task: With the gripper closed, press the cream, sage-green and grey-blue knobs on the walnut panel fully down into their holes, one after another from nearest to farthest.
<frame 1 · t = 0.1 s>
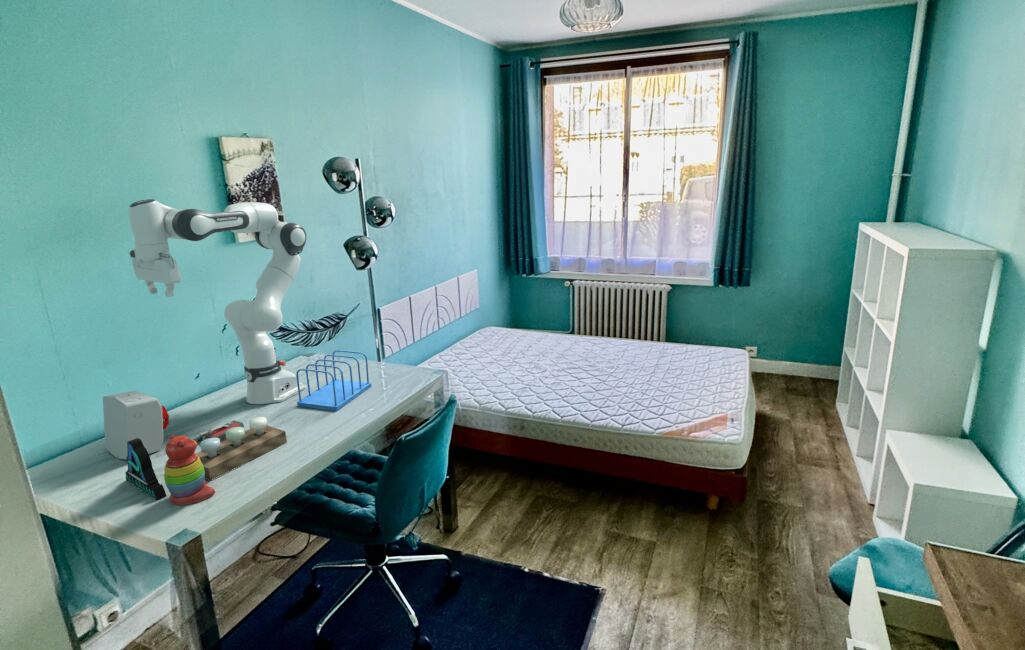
hand: (161, 294, 174), 48 cm above the table, tool pointing down, fingers open, 8 cm apart
file sorter: (336, 397, 213), on the table
stacking bear: (190, 496, 148), on the table
knob panel: (239, 455, 168), on the table
decorative sign: (146, 489, 152), on the table
electrical switch box: (145, 447, 175), on the table
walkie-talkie: (214, 440, 179), on the table
grey knob: (211, 449, 160), point 6 cm above the table, slide at 0.0 cm
cream knob: (259, 427, 173), point 6 cm above the table, slide at 0.0 cm
sage knob: (236, 438, 167), point 6 cm above the table, slide at 0.0 cm
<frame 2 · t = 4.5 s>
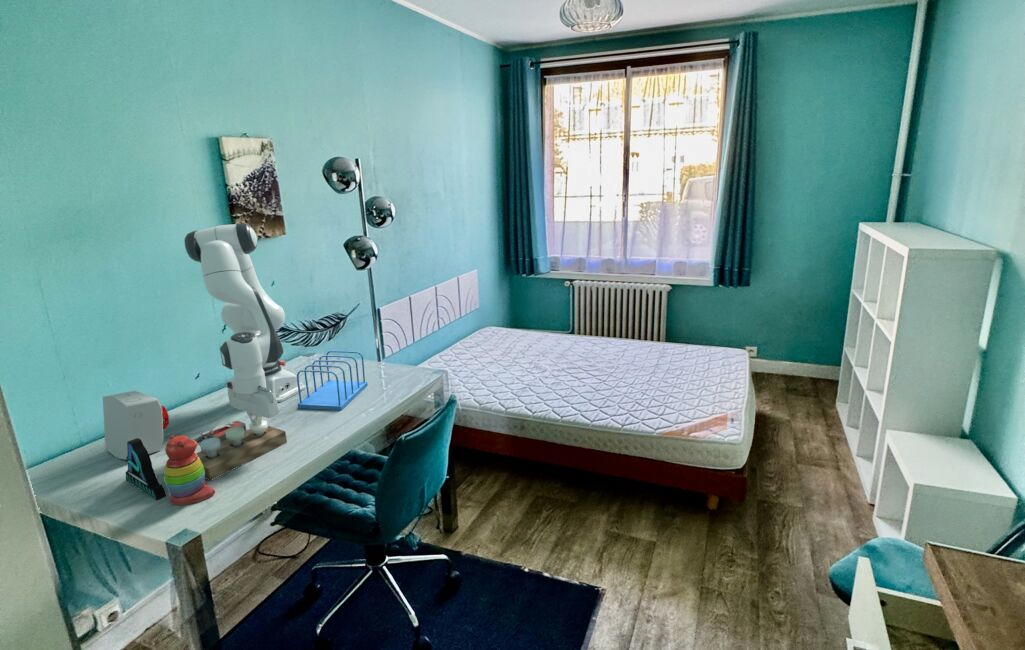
hand: (256, 424, 172), 8 cm above the table, tool pointing down, fingers closed, pressing on cream knob
cream knob: (259, 431, 174), point 5 cm above the table, slide at 1.2 cm, touching gripper
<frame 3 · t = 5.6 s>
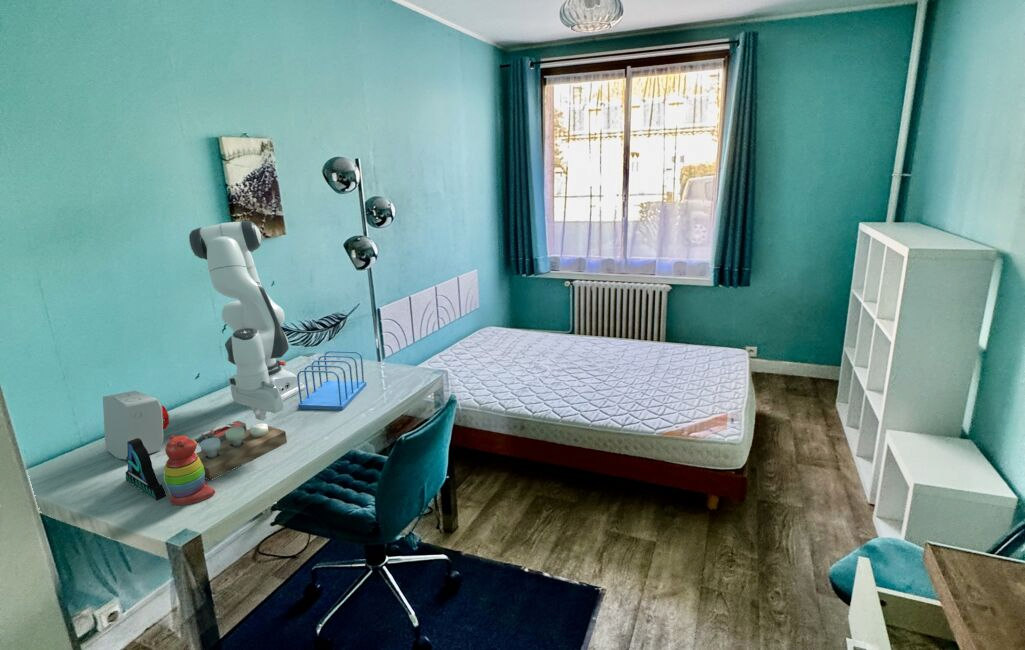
hand: (261, 419, 173), 9 cm above the table, tool pointing down, fingers closed
cream knob: (260, 434, 174), point 4 cm above the table, slide at 2.3 cm
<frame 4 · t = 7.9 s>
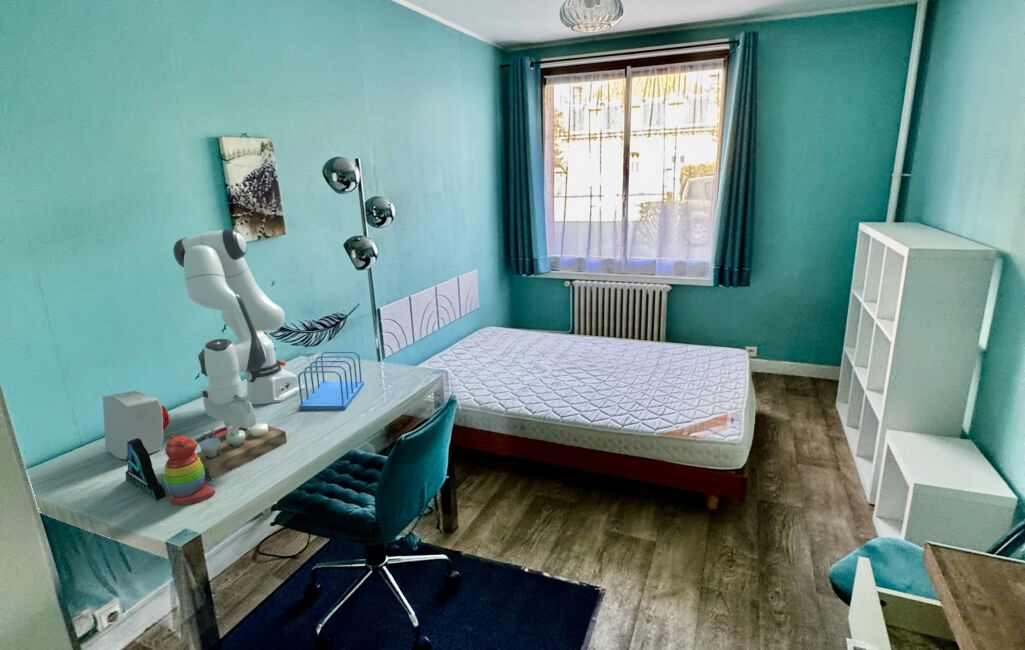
hand: (233, 434, 166), 8 cm above the table, tool pointing down, fingers closed, pressing on sage knob
sage knob: (236, 441, 167), point 5 cm above the table, slide at 1.2 cm, touching gripper
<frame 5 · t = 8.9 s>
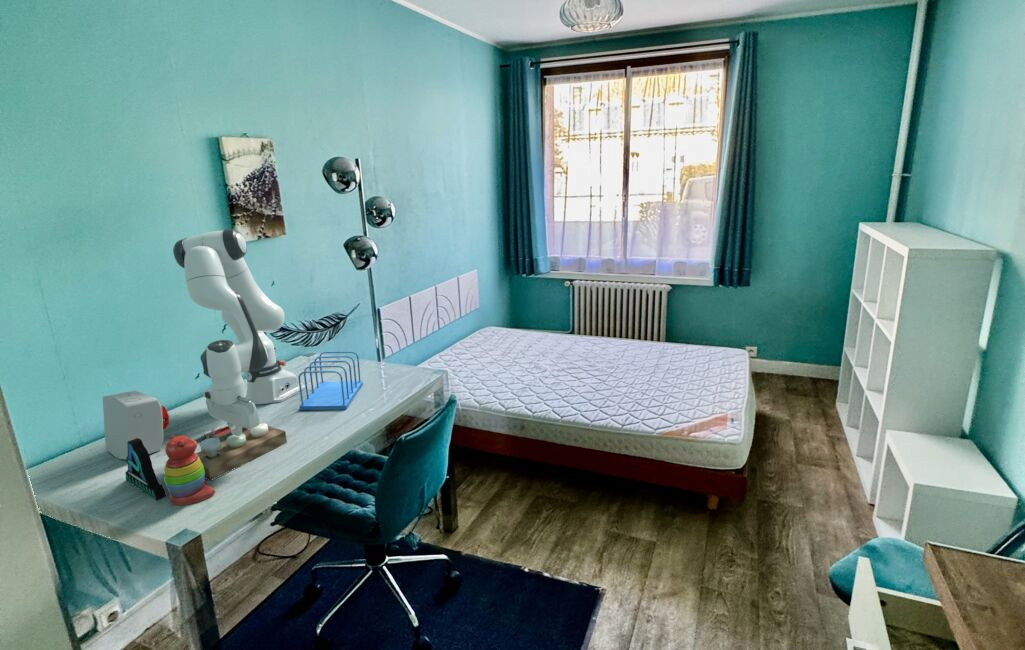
hand: (237, 434, 167), 7 cm above the table, tool pointing down, fingers closed
sage knob: (237, 445, 167), point 4 cm above the table, slide at 2.3 cm
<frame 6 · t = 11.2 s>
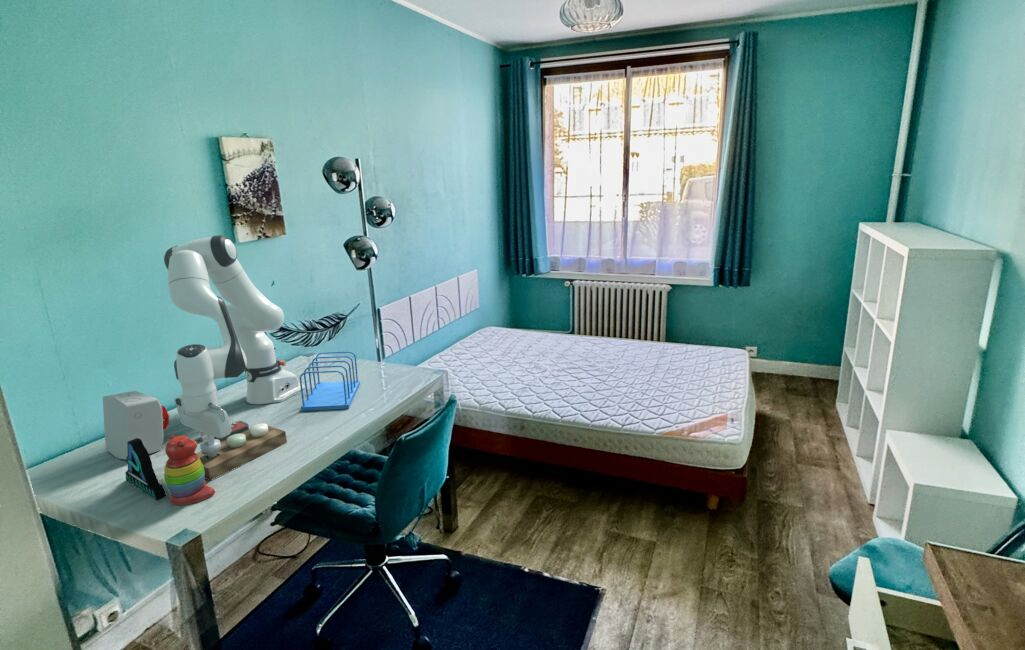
hand: (208, 443, 159), 8 cm above the table, tool pointing down, fingers closed, pressing on grey knob
grey knob: (211, 451, 160), point 6 cm above the table, slide at 0.6 cm, touching gripper
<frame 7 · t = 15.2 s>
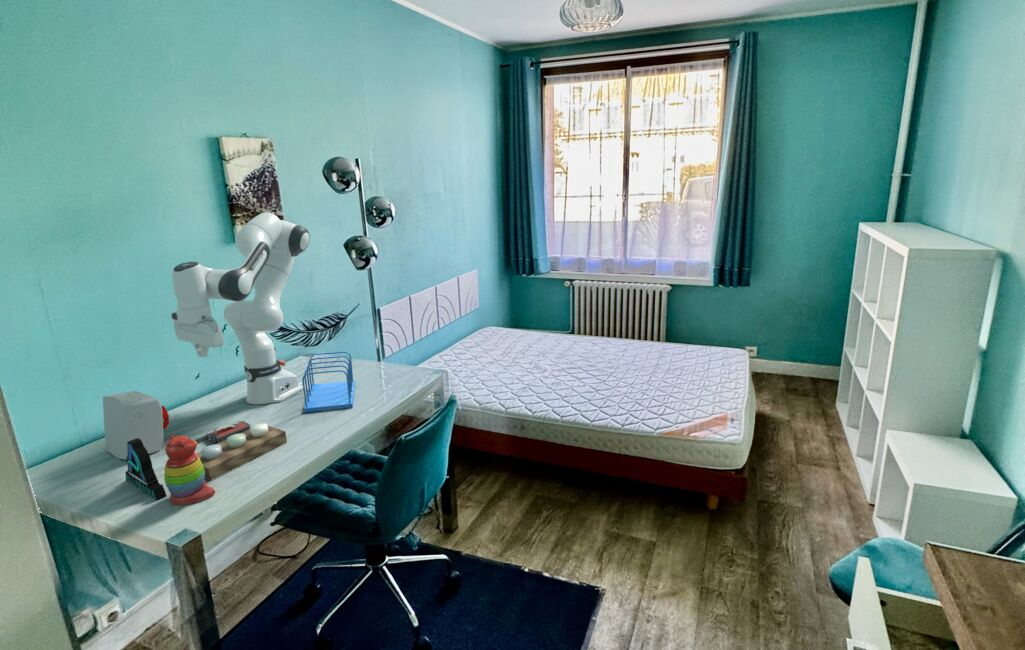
hand: (203, 356, 172), 29 cm above the table, tool pointing down, fingers closed
grey knob: (212, 456, 160), point 4 cm above the table, slide at 2.3 cm
at the end: cream knob slide at 2.3 cm; sage knob slide at 2.3 cm; grey knob slide at 2.3 cm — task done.
